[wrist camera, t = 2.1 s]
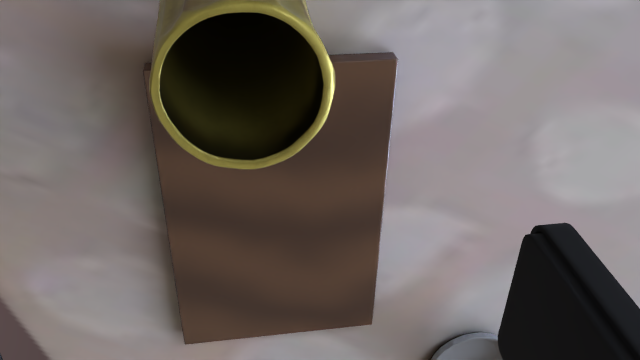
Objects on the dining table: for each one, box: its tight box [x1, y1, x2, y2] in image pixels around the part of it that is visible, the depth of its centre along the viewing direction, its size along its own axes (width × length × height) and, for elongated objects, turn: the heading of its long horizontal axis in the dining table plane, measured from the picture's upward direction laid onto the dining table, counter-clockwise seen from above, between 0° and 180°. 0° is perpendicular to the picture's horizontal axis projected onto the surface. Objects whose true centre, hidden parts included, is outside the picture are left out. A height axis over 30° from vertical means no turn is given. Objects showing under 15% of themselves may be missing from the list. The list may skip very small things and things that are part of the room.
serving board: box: [143, 52, 398, 344], centre depth 37 cm, size 20×13×1 cm, turn 179°
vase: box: [149, 0, 335, 169], centre depth 23 cm, size 6×6×14 cm
